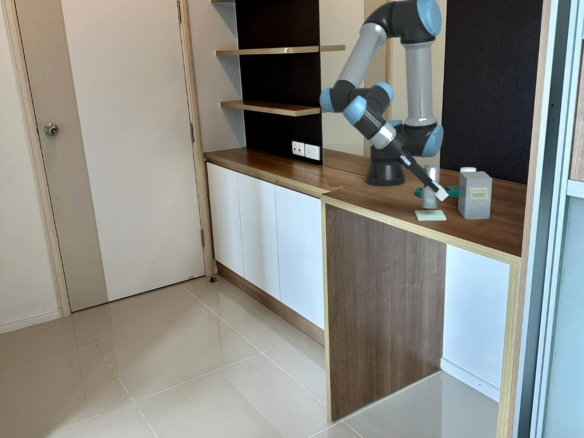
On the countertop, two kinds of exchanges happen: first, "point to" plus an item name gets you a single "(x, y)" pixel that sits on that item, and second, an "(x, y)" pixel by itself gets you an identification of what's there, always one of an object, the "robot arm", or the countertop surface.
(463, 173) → the box
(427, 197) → the clear drinking glass
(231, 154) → the countertop surface
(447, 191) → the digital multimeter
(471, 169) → the cream canister
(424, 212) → the pad
